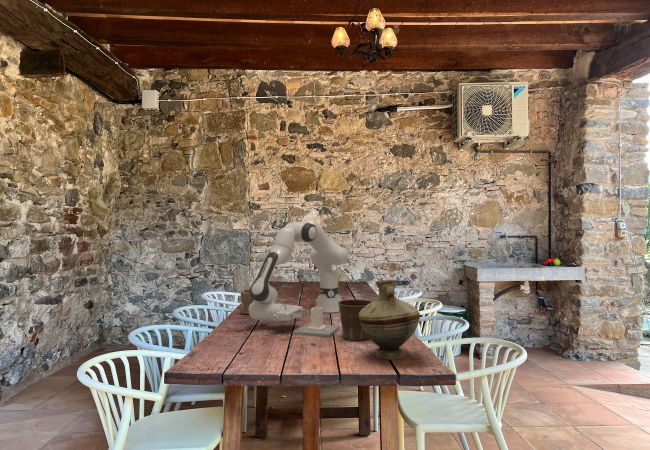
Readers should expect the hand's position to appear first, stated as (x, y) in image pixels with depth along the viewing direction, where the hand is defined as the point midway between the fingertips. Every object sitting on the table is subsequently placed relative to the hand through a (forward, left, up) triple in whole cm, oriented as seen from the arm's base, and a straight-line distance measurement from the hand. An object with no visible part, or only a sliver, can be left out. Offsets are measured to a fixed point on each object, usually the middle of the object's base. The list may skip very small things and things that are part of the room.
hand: (305, 314), depth 212 cm
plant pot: (+19, +21, -8) cm, 29 cm away
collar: (+3, +5, -7) cm, 9 cm away
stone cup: (-48, -25, -8) cm, 55 cm away
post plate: (+3, +5, -8) cm, 10 cm away
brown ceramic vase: (+49, +27, -8) cm, 56 cm away
